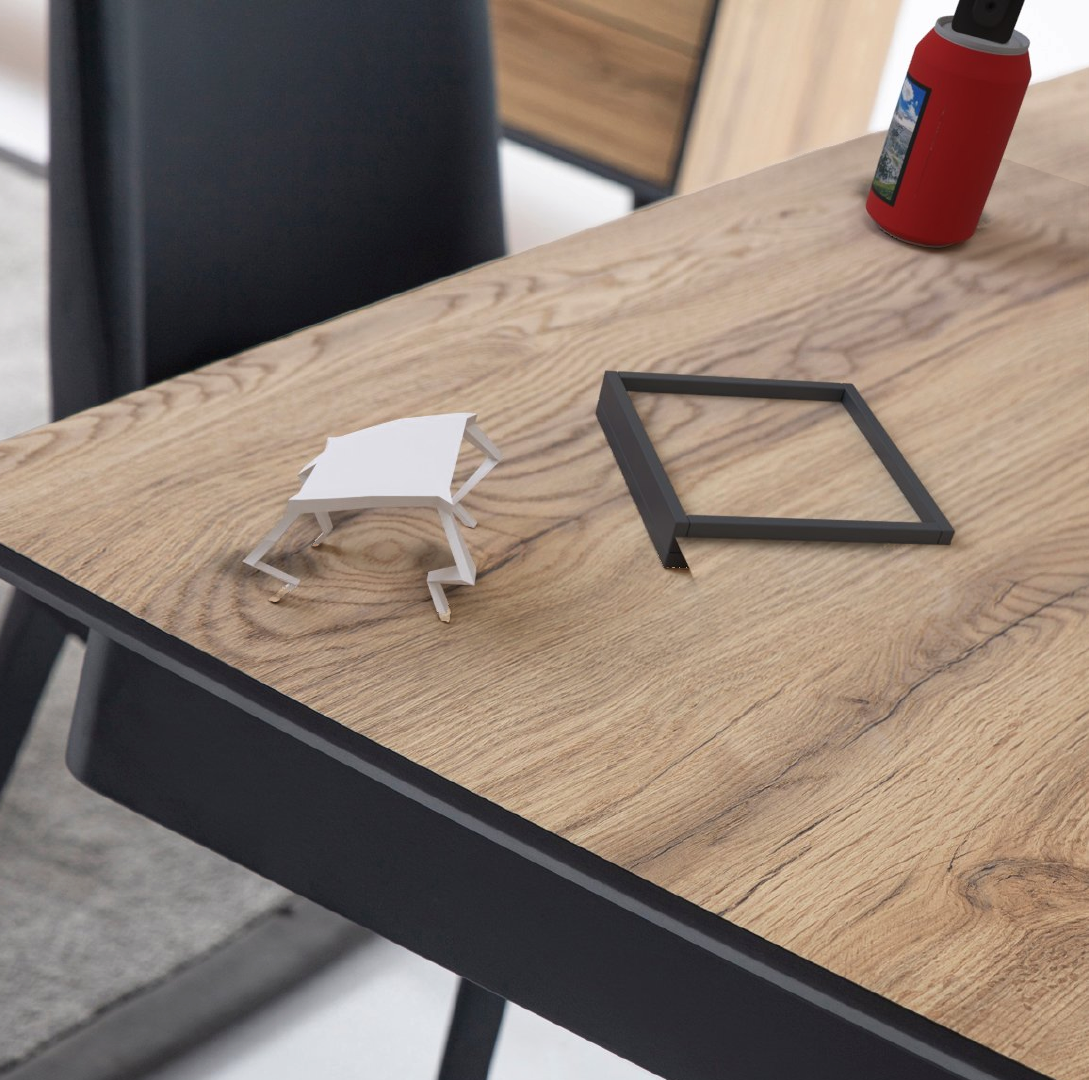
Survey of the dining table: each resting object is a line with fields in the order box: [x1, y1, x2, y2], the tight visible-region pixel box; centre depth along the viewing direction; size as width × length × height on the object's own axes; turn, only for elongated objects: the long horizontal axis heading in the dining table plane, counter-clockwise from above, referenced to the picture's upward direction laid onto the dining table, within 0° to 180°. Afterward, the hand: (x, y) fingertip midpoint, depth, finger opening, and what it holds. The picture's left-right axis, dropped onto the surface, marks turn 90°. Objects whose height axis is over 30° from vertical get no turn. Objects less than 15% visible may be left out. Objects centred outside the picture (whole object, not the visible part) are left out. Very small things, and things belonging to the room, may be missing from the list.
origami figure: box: [241, 411, 505, 615], centre depth 62 cm, size 12×8×5 cm
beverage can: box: [865, 14, 1033, 249], centre depth 96 cm, size 7×7×12 cm
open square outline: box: [594, 370, 956, 569], centre depth 71 cm, size 12×12×2 cm
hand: (979, 13), depth 92 cm, fingers open, 9 cm apart
